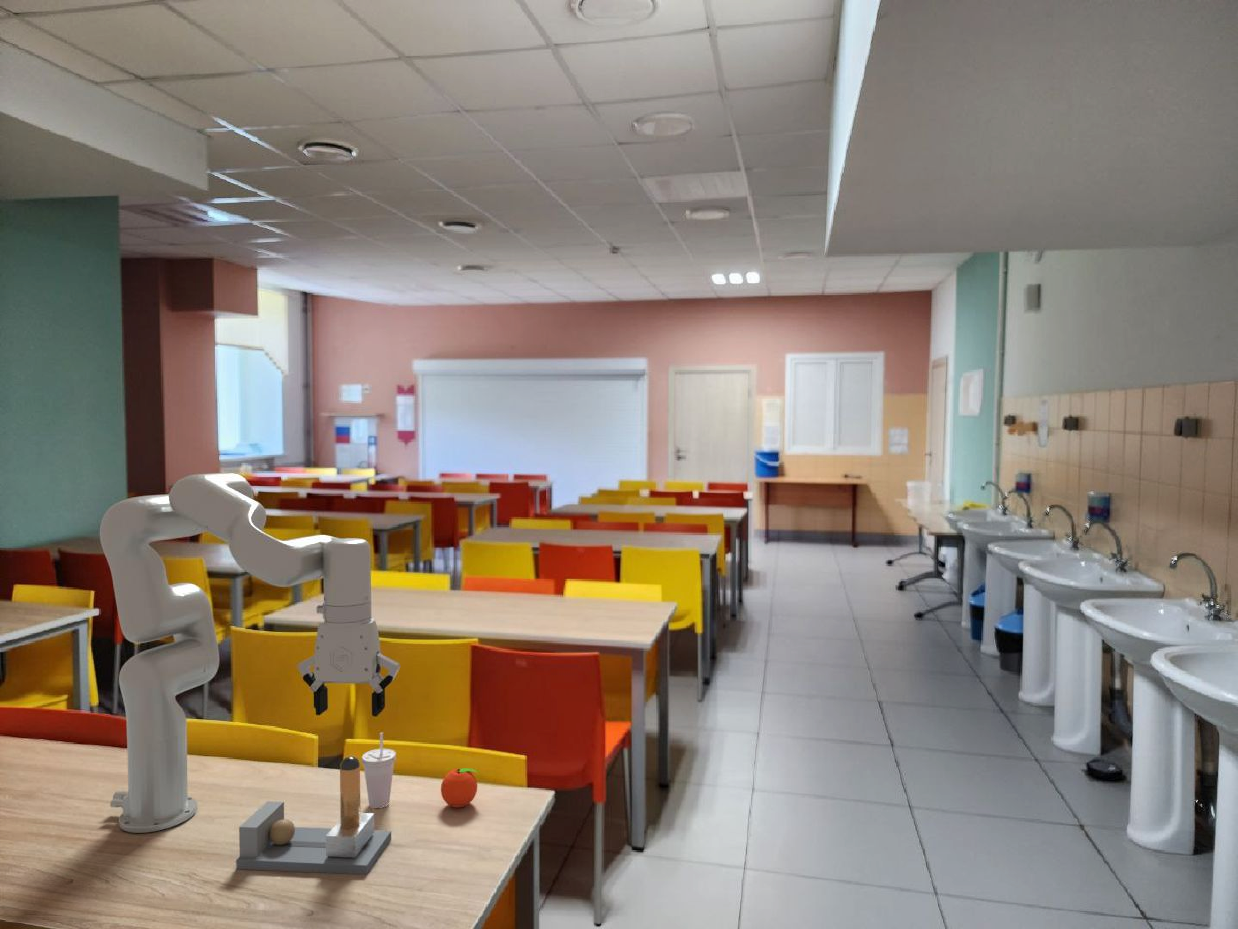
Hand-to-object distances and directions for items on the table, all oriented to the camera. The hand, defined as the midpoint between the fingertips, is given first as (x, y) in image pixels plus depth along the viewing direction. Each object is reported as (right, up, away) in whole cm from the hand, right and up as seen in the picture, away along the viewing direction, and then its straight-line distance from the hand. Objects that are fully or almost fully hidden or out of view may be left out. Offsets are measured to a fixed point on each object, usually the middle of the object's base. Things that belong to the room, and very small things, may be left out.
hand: (349, 713), depth 131 cm
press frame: (-6, -24, +1) cm, 25 cm away
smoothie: (-1, -24, +19) cm, 31 cm away
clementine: (+15, -24, +19) cm, 34 cm away
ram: (0, -23, +1) cm, 23 cm away
